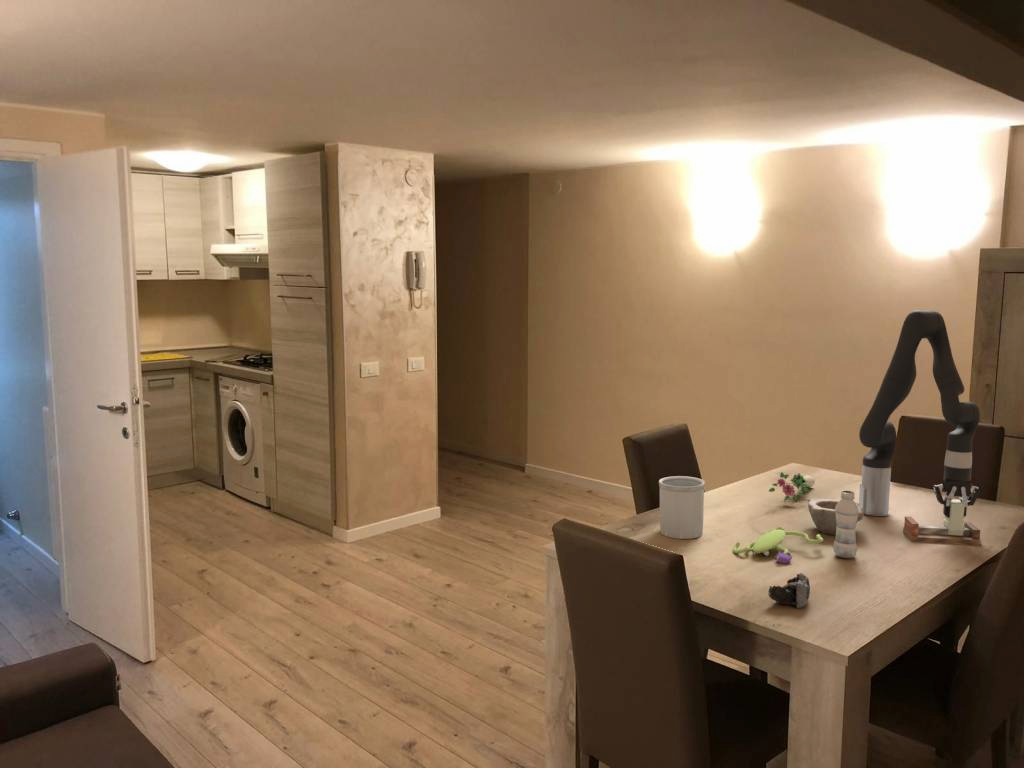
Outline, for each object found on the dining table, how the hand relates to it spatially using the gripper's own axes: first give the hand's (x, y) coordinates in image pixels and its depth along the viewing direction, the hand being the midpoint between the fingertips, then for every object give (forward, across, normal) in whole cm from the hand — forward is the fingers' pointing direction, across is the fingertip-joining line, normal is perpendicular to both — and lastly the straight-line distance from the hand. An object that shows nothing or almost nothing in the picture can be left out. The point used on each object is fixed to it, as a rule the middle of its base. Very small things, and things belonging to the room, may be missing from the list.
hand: (954, 517), depth 257 cm
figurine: (+8, -56, -21) cm, 60 cm away
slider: (+5, 0, 0) cm, 5 cm away
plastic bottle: (+7, -38, -24) cm, 45 cm away
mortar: (+7, -36, +2) cm, 36 cm away
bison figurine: (+7, -59, -62) cm, 85 cm away
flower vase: (+7, -41, +44) cm, 61 cm away
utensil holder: (+7, -86, -9) cm, 86 cm away
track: (+7, -4, 0) cm, 8 cm away
